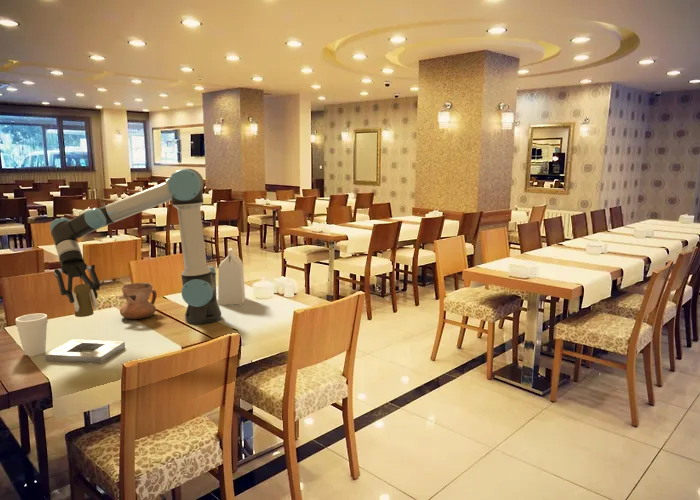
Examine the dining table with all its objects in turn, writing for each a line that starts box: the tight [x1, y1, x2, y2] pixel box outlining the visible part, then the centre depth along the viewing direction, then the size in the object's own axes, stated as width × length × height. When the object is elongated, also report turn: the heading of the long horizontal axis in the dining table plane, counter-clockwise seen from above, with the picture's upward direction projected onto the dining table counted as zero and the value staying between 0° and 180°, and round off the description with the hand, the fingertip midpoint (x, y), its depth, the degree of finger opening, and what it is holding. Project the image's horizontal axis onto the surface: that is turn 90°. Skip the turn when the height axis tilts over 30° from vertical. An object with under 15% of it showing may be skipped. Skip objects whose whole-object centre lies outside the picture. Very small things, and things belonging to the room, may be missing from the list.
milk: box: [217, 247, 246, 306], centre depth 244 cm, size 12×12×26 cm
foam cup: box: [15, 312, 48, 357], centre depth 176 cm, size 10×9×13 cm
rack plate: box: [44, 338, 126, 365], centre depth 176 cm, size 20×15×2 cm
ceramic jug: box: [118, 282, 157, 320], centre depth 219 cm, size 18×14×14 cm
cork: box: [73, 283, 95, 318], centre depth 179 cm, size 6×6×11 cm
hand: (86, 307), depth 177 cm, fingers closed on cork, 5 cm apart
